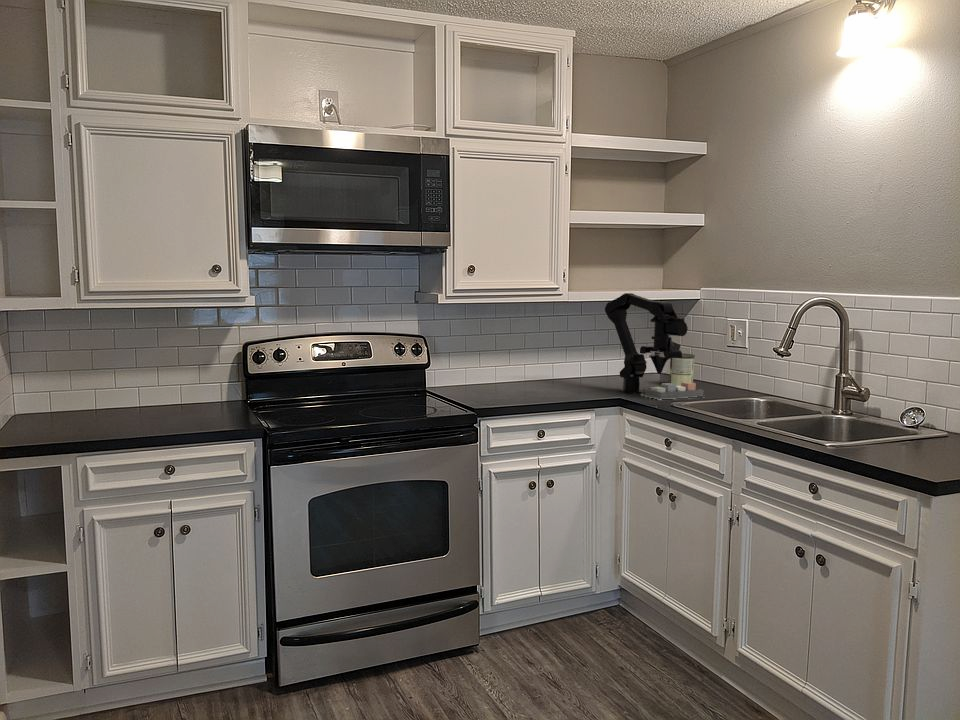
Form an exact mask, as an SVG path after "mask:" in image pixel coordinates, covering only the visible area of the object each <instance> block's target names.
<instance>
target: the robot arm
mask: <svg viewBox="0 0 960 720" xmlns="http://www.w3.org/2000/svg"><path fill="white" fill-rule="evenodd" d="M631 306H634V307H636V308H637V307H638V308H640V309H643V310H647V311H648V312H649V313H650V314H651V315H652V316H653V317H652V318H650V322H651V323H654V327H653V328H654V330H653V335H652V336H651V340H653V345H642V346H641V347H640V348H639V351H637V348H636V346H635V343H634V339H633V336H632V334H631V332H630V328H629V325H628V323H627V316H628V313H627V310H628V309H630V308H631ZM604 311H605V314H606V316H607V318H608V319H609V320H610V322H612V323H613V325H614V328H615V330H616V333H617V335H618V336H617V337H618V339H619V342H620V344H621V348H622V350H623V353H624V361H623V365H624V367H623V368H621V370H620V371H619V377H620V378H622V379H623V383H622V385H623V387H622V389H620V390H619V392H621V391H622V392H623V393H625V392H626V394H643V391H642V390H641V391H640V378H643V377H644V374H645V372H646V370H647V363H648V362H647V361H646V358H645V355H644V354H648V353H649V356H648V357H649V358H650V359H651V361H652V363H653V366H654V368H655V371H656V372H657V374H658V375H662V373H663V370H664V368H665V365H666V363H667V361H668V360H669V359H670V358H682V353H683V352H682V351H681V350H680V348H681V344H679V343H677V342H675V341H672V340H673V339H672V337H671V336H675V337H685V336H686V334H687V333H688V324H687V323H686V322H685V318H682V317H681V318H679V317H678V315H677V313H676V311H675V309H674V307H673V304H672V303H671V302H670V301H659V300H658V301H657V300H652V299H649V298H646V297H643V296H639V295H637V294H635V293H633V292H631V293H630V292H629V293H628V292H625V293H623V294H621V295H620V296H619V297H617V298H615V299H613V300H611V301H608V302H607V303H606V305H605V307H604Z"/></svg>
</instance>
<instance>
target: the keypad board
mask: <svg viewBox="0 0 960 720" xmlns="http://www.w3.org/2000/svg"><path fill="white" fill-rule="evenodd" d="M640 395H641V396H640ZM703 395H704V389H700V388H697V387H696V388H695V390H688V389H686V391H680V390H676V391H674V392H671V391H667V390H665V392H658V391H654V390H651V387H648V388H647V387H645V388H642V393H639V396H640V397H643V396H645V397H644V398H647V397H649V398H648V399H651V398H654V399H653V400H655V399H657V400H656V401H663V400H662V399H673V400H677V399H676V398H688V397H697V396H703ZM688 399H689V398H688Z"/></svg>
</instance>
